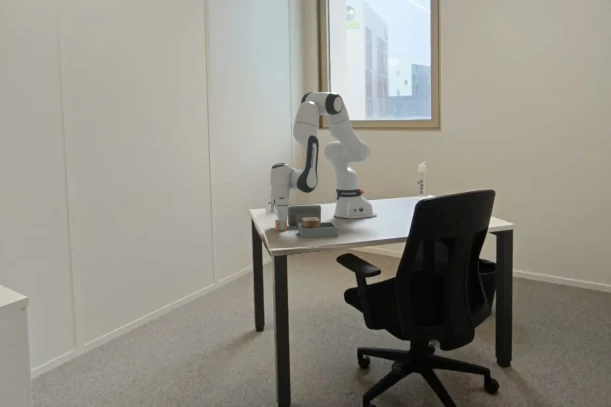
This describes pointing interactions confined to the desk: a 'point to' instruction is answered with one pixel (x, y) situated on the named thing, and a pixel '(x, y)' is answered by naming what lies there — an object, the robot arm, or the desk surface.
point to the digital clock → (302, 213)
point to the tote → (319, 230)
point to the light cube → (277, 225)
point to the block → (311, 222)
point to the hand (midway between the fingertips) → (281, 227)
